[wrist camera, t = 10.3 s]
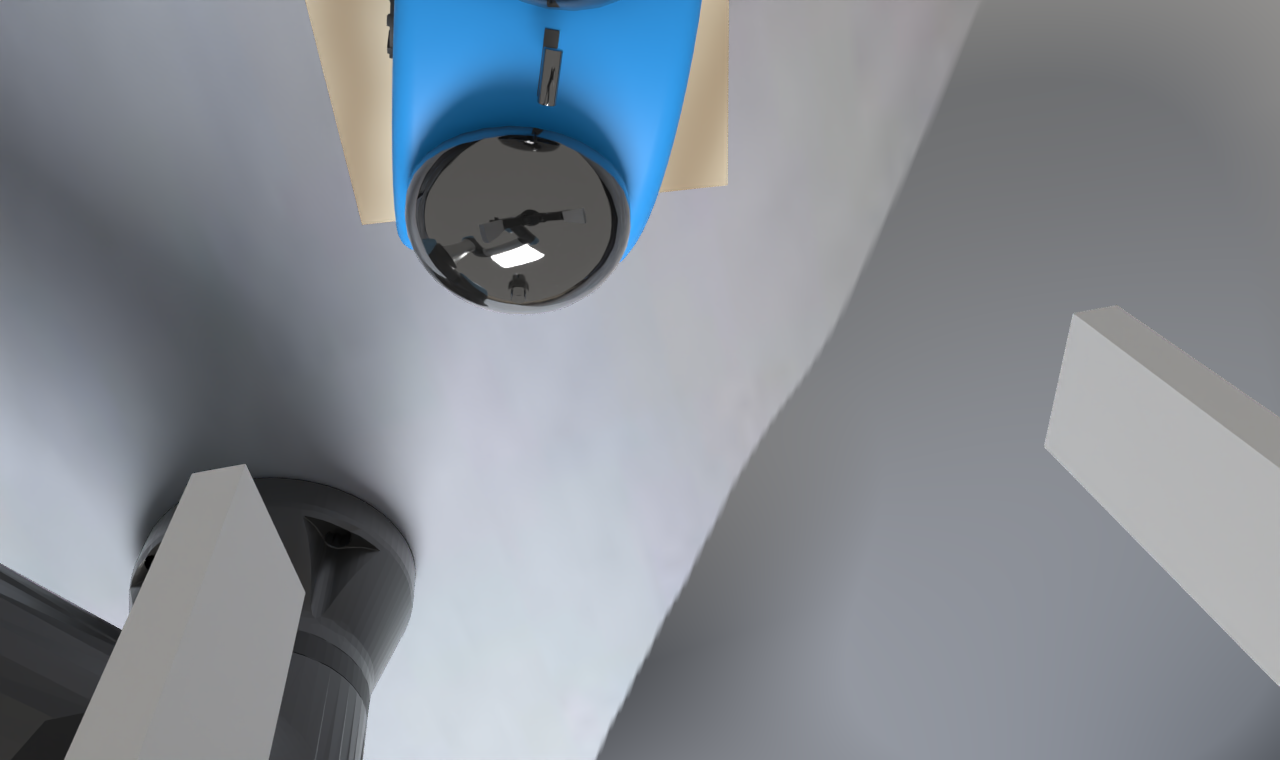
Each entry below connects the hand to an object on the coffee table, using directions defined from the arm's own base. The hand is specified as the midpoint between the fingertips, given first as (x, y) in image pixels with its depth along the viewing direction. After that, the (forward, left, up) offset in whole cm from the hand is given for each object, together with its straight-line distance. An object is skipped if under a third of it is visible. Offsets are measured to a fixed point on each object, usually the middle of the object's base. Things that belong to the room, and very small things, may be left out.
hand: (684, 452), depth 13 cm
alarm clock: (-1, +5, -20) cm, 21 cm away
